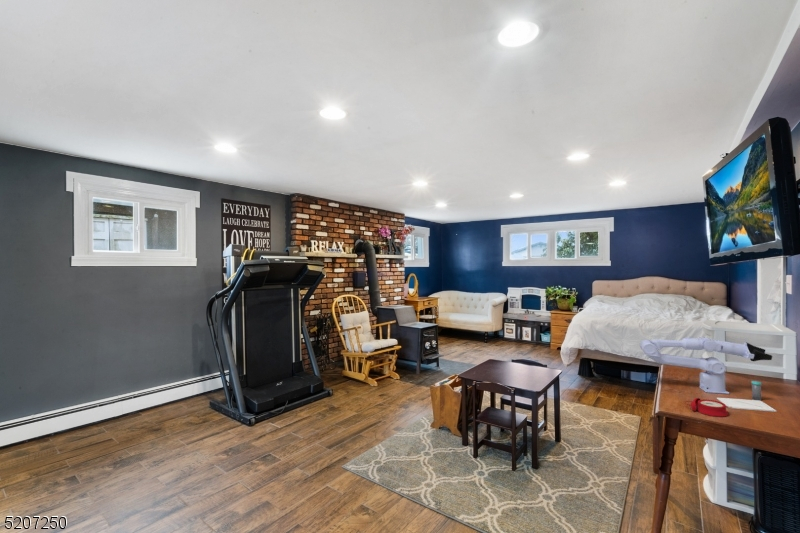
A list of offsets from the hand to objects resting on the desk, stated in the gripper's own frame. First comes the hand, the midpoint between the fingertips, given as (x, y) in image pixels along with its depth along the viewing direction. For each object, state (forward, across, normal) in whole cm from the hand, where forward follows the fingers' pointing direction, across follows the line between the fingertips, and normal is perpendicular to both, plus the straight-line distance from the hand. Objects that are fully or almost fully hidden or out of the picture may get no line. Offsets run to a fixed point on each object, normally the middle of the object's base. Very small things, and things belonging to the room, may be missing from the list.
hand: (768, 354), depth 175 cm
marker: (-4, -11, +19) cm, 22 cm away
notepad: (-11, -20, +18) cm, 30 cm away
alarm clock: (-28, -34, +20) cm, 48 cm away
